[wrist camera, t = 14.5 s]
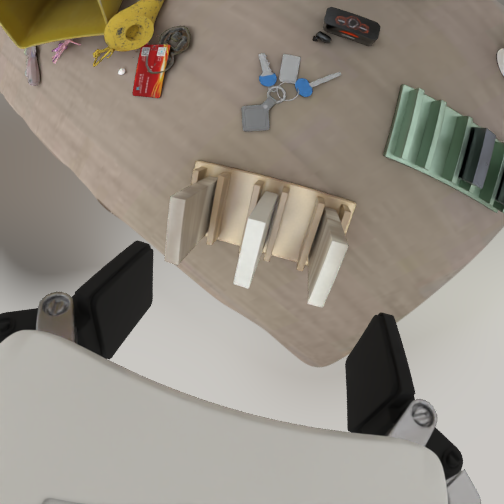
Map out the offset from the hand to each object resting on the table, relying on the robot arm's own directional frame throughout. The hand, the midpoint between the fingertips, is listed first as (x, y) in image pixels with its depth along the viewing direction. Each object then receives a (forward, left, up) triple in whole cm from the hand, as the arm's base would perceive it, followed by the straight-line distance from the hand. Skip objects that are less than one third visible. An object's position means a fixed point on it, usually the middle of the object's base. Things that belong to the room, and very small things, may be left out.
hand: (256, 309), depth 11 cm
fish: (-50, -29, -25) cm, 63 cm away
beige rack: (+2, -5, -26) cm, 26 cm away
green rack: (+6, +23, -26) cm, 35 cm away
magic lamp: (-28, -3, -20) cm, 35 cm away
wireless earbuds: (-14, +16, -26) cm, 33 cm away
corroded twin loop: (-25, -3, -26) cm, 36 cm away
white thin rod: (-28, -8, -25) cm, 38 cm away
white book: (+2, -5, -25) cm, 25 cm away
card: (-22, -5, -25) cm, 33 cm away
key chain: (-12, +5, -26) cm, 29 cm away
